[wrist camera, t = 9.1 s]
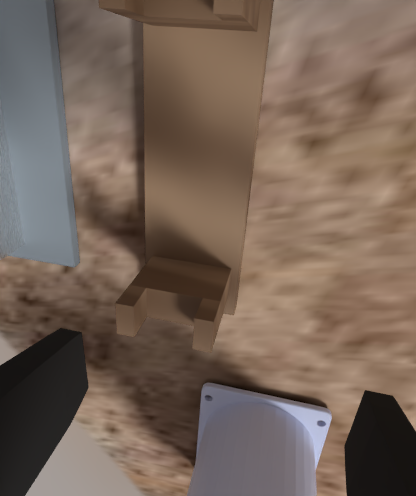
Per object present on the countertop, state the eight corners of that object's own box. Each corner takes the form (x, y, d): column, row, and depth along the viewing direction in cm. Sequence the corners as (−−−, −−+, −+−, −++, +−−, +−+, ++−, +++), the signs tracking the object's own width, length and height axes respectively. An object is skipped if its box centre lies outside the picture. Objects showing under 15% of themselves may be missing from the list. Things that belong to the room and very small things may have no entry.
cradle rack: (236, 305, 21) (218, 376, 16) (152, 289, 21) (109, 353, 17) (280, -53, 14) (270, -123, 9) (151, -55, 14) (77, -121, 10)
